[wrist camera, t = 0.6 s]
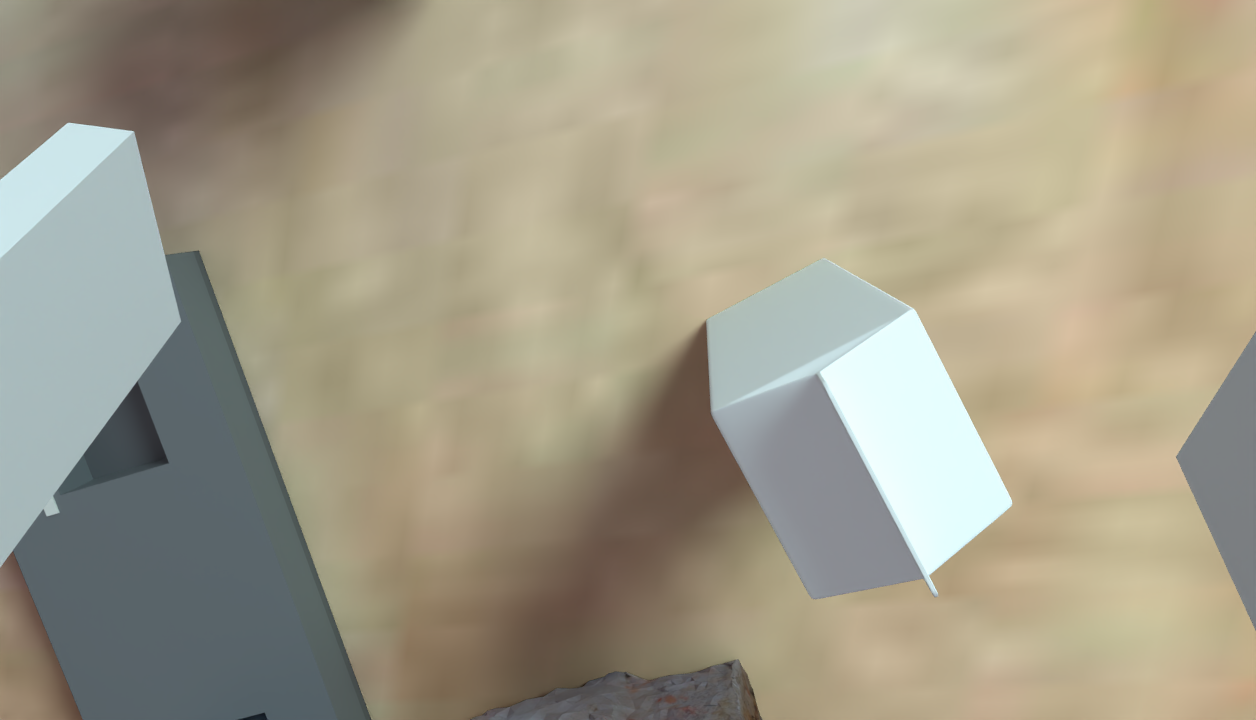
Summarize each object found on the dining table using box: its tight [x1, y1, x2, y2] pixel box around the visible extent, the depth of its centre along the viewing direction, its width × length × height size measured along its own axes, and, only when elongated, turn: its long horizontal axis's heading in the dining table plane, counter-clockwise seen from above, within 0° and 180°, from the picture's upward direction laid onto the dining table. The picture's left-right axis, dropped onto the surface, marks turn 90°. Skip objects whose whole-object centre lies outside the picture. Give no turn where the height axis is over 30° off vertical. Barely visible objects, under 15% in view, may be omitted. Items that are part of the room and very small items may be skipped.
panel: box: [13, 251, 371, 720], centre depth 47 cm, size 30×12×3 cm, turn 17°
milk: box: [706, 258, 1012, 599], centre depth 34 cm, size 6×6×22 cm
